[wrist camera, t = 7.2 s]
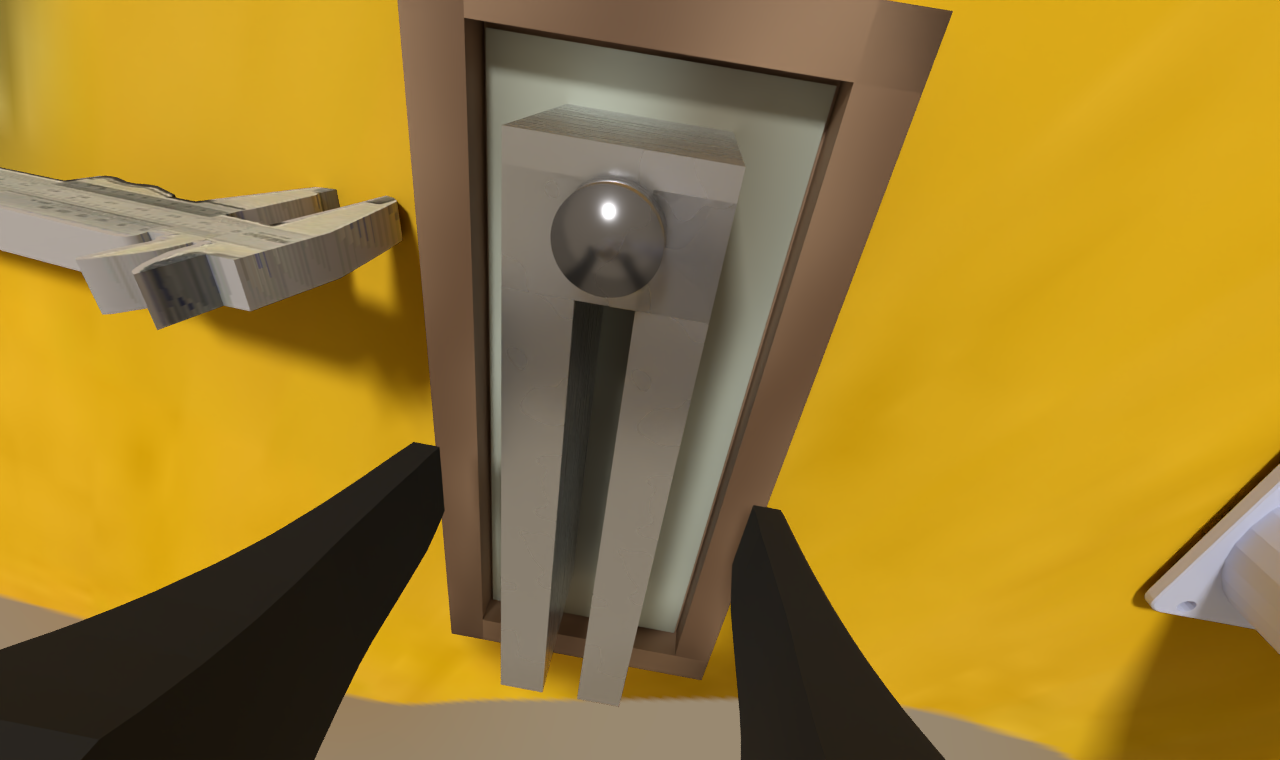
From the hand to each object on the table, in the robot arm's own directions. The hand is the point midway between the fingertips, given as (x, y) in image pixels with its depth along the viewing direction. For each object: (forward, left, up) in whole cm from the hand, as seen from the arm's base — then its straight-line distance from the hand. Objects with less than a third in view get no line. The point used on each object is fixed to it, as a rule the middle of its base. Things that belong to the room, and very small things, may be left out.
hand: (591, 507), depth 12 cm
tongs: (0, 0, -3) cm, 3 cm away
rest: (0, 0, -4) cm, 4 cm away
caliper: (+16, -4, -5) cm, 17 cm away
